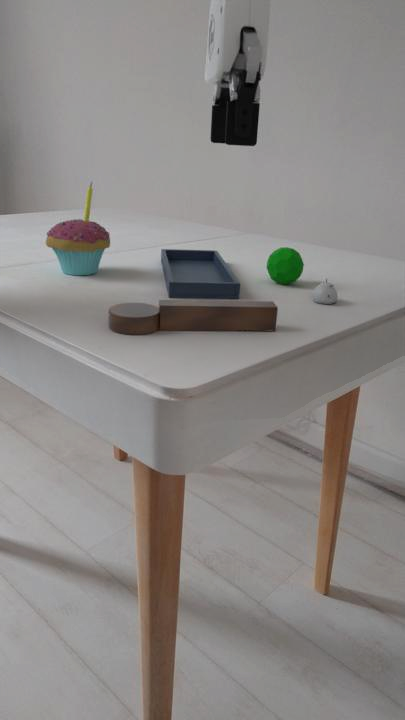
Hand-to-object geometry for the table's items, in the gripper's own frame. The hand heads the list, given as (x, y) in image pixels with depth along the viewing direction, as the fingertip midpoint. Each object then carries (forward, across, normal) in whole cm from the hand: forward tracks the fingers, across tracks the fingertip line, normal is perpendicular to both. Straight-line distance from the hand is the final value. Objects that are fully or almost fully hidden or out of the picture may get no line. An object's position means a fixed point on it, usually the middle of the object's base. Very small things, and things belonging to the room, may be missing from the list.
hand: (231, 144), depth 62 cm
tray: (+18, -11, -2) cm, 21 cm away
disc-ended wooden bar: (+18, +10, -5) cm, 21 cm away
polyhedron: (+18, -9, +10) cm, 22 cm away
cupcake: (+18, -14, -18) cm, 29 cm away
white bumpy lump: (+18, 0, +13) cm, 22 cm away
